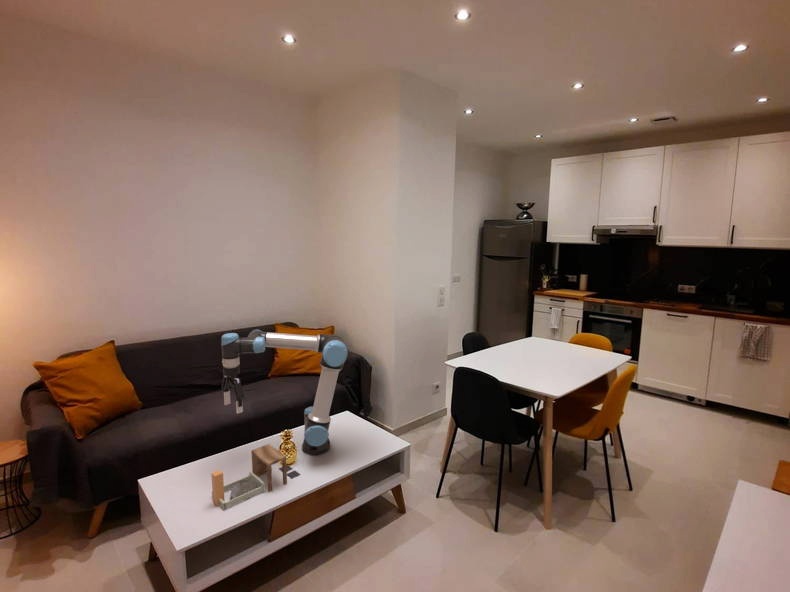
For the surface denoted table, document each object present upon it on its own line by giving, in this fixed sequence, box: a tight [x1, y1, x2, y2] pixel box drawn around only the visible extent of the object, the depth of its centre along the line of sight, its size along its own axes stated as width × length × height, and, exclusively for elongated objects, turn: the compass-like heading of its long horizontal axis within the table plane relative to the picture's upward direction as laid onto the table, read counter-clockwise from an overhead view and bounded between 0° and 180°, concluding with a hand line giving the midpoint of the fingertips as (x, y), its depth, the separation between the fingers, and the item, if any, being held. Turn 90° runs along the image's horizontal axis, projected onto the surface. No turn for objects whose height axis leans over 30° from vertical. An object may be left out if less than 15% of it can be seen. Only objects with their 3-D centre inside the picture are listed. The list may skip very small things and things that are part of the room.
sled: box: [210, 469, 266, 510], centre depth 183 cm, size 20×12×14 cm, turn 135°
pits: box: [278, 465, 301, 480], centre depth 203 cm, size 5×12×1 cm, turn 45°
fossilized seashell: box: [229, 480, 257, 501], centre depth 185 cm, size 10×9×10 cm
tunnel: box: [251, 443, 288, 493], centre depth 194 cm, size 9×16×14 cm, turn 45°
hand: (233, 408), depth 200 cm, fingers open, 13 cm apart
